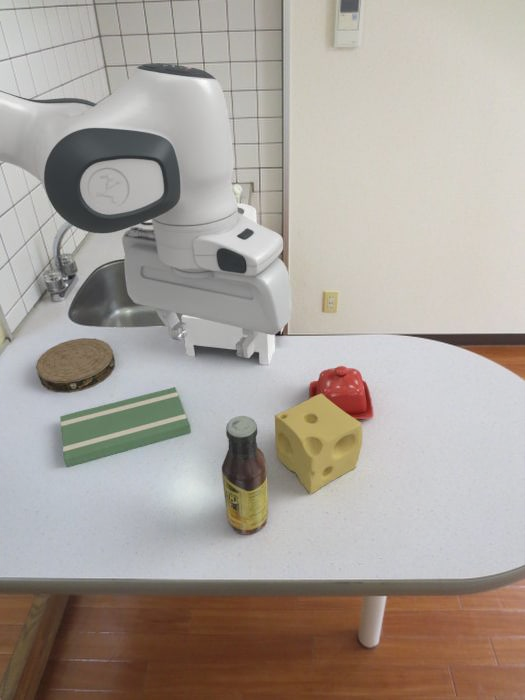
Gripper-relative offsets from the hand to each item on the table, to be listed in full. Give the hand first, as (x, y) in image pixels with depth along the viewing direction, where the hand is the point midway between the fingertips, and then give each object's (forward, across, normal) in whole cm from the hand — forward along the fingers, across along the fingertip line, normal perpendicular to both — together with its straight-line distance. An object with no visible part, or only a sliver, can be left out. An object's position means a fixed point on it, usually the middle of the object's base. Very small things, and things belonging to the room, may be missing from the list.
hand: (211, 345), depth 63 cm
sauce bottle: (+32, +3, 0) cm, 32 cm away
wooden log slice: (+32, -49, +19) cm, 62 cm away
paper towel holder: (+32, -23, +44) cm, 59 cm away
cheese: (+32, +8, +15) cm, 36 cm away
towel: (+31, -28, +9) cm, 43 cm away
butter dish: (+32, +6, +31) cm, 45 cm away
